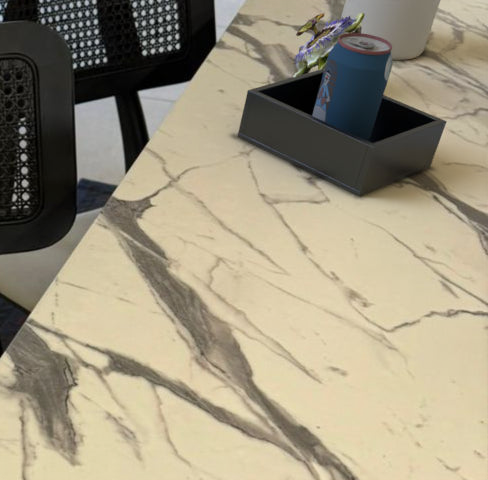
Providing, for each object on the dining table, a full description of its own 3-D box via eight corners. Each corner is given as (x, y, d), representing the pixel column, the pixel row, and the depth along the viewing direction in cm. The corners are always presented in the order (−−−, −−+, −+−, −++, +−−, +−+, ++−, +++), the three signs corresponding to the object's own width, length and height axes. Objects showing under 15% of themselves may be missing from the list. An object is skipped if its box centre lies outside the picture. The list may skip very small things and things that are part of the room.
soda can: (375, 150, 119) (409, 44, 111) (346, 166, 115) (379, 58, 107) (323, 130, 122) (353, 26, 114) (293, 145, 118) (321, 39, 110)
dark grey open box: (429, 170, 118) (447, 121, 114) (357, 198, 111) (374, 147, 107) (308, 115, 128) (321, 68, 124) (236, 138, 121) (247, 90, 117)
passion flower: (288, 123, 139) (291, 31, 138) (372, 119, 137) (376, 26, 136) (293, 101, 128) (296, 1, 127) (384, 97, 126) (388, -5, 125)
